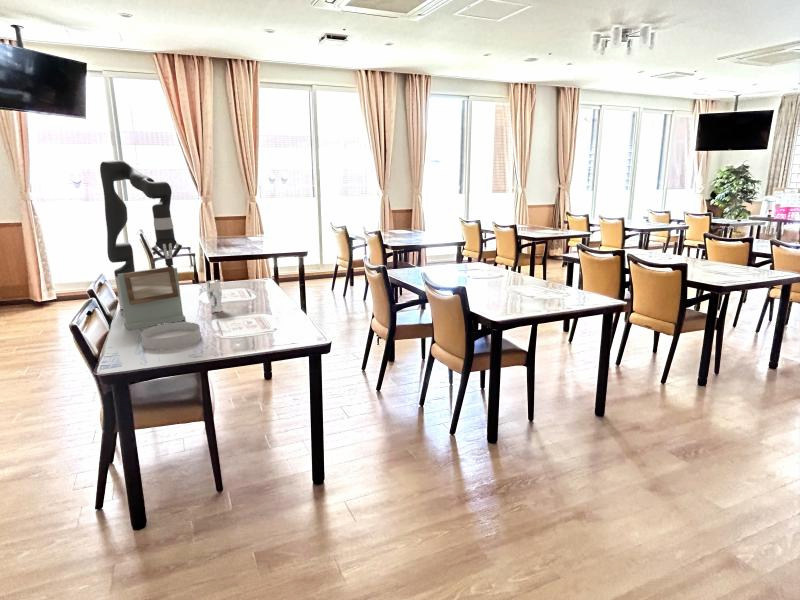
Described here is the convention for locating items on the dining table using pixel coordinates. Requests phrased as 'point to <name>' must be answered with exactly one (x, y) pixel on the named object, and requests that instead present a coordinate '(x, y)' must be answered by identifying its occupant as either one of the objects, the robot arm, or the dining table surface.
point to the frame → (151, 285)
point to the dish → (171, 335)
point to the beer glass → (214, 295)
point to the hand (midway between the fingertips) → (169, 266)
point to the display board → (150, 308)
